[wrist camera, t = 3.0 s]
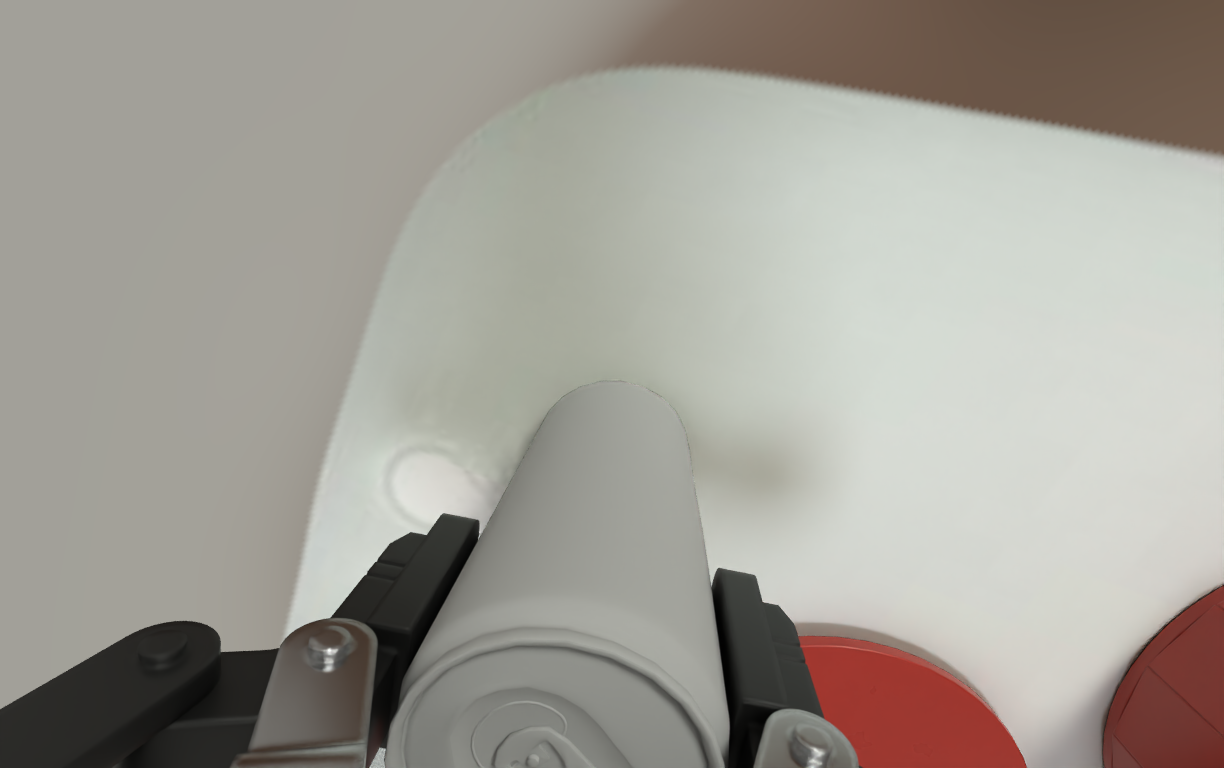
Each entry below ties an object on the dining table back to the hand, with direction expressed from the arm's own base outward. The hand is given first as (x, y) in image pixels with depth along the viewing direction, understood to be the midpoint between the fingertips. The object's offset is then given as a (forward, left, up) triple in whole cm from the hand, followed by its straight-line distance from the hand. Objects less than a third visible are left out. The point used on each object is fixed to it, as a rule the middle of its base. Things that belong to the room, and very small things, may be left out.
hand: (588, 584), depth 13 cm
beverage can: (0, 0, -8) cm, 8 cm away
